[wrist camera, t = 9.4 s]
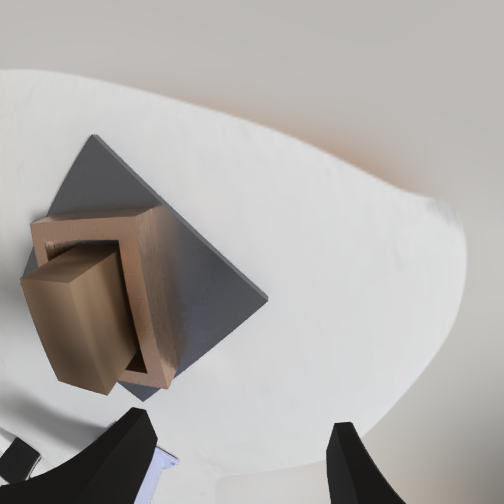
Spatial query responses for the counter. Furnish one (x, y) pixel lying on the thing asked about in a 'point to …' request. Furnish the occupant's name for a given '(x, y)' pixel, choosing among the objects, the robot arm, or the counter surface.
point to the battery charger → (18, 462)
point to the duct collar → (148, 265)
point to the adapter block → (83, 316)
